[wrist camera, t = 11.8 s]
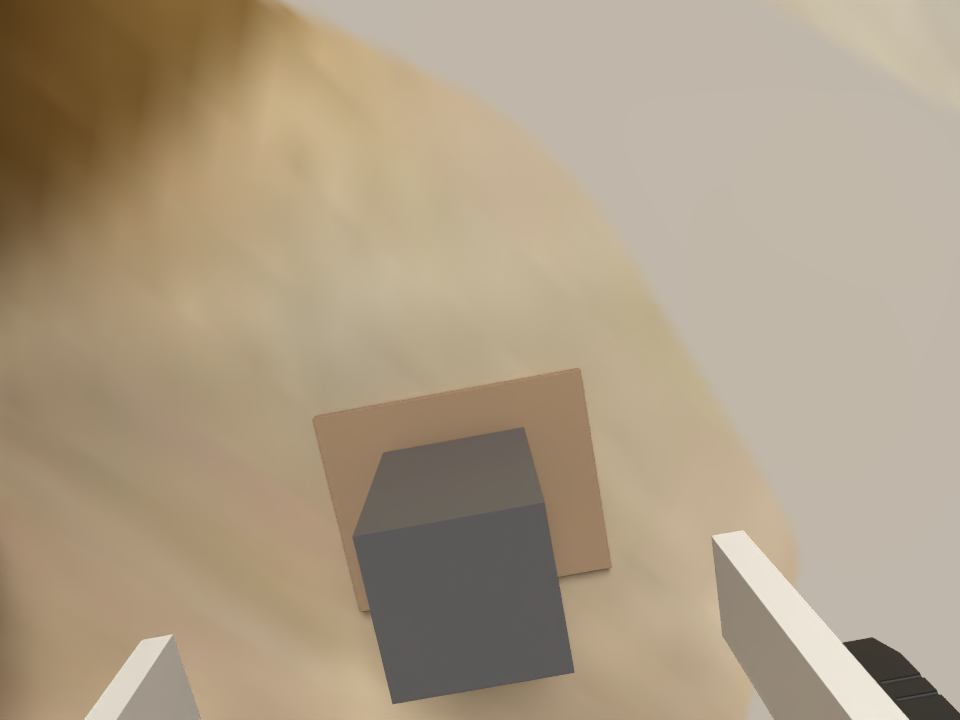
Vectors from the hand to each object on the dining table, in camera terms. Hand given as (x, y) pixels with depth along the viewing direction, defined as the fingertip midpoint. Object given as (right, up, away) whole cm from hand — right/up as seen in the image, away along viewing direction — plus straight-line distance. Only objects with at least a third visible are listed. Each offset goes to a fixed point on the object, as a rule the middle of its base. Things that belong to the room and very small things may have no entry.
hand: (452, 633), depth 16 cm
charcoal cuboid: (0, +1, +9) cm, 9 cm away
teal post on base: (0, +2, +10) cm, 10 cm away
